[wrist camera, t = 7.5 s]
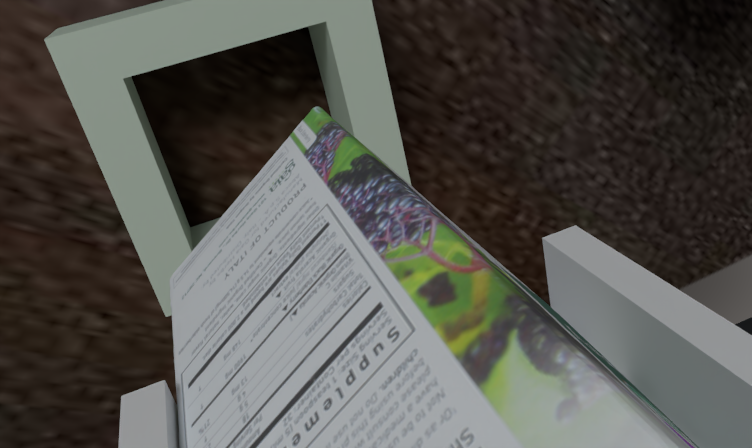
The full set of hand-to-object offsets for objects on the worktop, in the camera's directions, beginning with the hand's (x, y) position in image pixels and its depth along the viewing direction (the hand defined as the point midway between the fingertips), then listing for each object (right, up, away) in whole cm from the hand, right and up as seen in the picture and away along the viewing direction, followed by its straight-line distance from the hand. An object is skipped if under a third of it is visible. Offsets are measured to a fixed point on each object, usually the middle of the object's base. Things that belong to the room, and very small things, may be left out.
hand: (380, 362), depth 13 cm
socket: (-6, +7, +18) cm, 20 cm away
